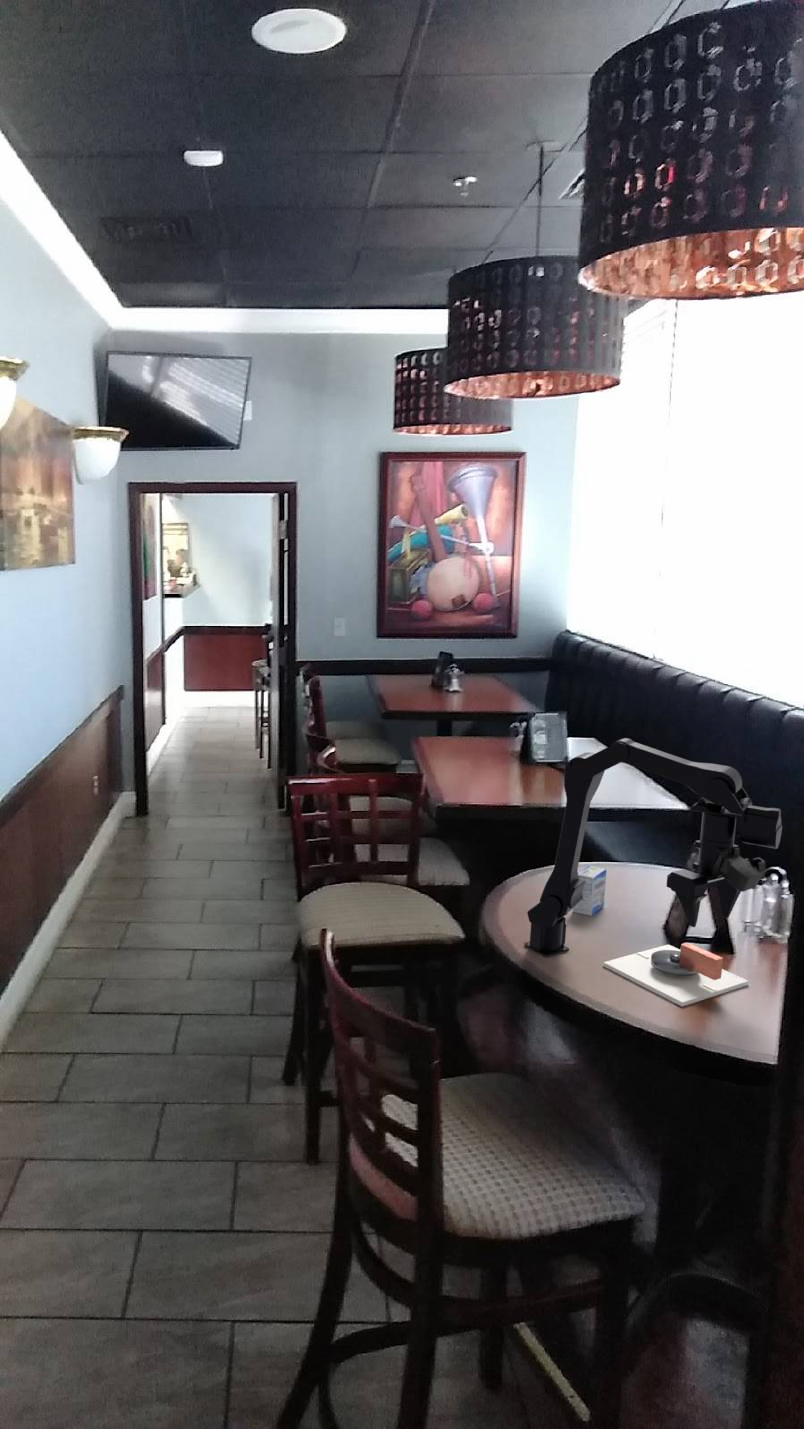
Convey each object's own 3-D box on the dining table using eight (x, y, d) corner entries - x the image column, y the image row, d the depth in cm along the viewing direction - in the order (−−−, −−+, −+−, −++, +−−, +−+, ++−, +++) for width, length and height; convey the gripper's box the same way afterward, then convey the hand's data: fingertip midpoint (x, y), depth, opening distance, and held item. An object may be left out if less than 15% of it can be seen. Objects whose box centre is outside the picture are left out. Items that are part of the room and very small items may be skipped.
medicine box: (591, 917, 214) (594, 878, 213) (571, 912, 217) (574, 874, 215) (604, 906, 221) (607, 868, 219) (585, 902, 223) (588, 864, 222)
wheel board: (682, 1006, 174) (682, 998, 173) (603, 966, 189) (603, 958, 189) (748, 984, 184) (748, 977, 183) (668, 948, 199) (668, 941, 199)
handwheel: (700, 990, 176) (703, 964, 175) (640, 961, 187) (642, 936, 186) (733, 980, 181) (736, 954, 180) (673, 952, 192) (675, 927, 191)
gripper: (721, 858, 165) (712, 947, 168) (789, 842, 176) (779, 927, 178) (668, 840, 174) (660, 925, 177) (735, 826, 184) (727, 907, 187)
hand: (709, 921), depth 179 cm, fingers open, 9 cm apart
